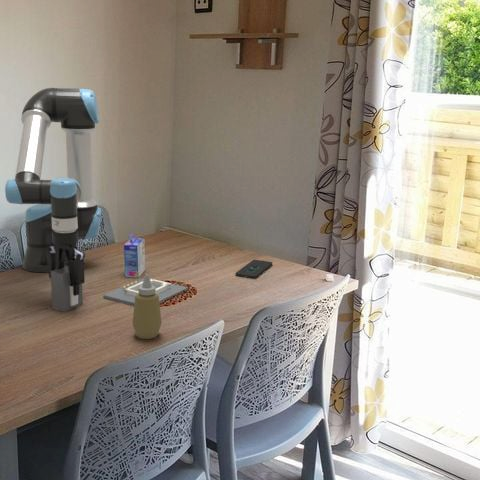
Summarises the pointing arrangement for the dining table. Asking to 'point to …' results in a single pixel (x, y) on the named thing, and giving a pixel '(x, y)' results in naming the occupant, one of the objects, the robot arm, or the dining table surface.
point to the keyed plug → (63, 290)
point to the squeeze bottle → (147, 311)
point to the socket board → (131, 290)
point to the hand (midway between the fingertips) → (67, 302)
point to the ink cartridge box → (134, 257)
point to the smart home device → (253, 269)
